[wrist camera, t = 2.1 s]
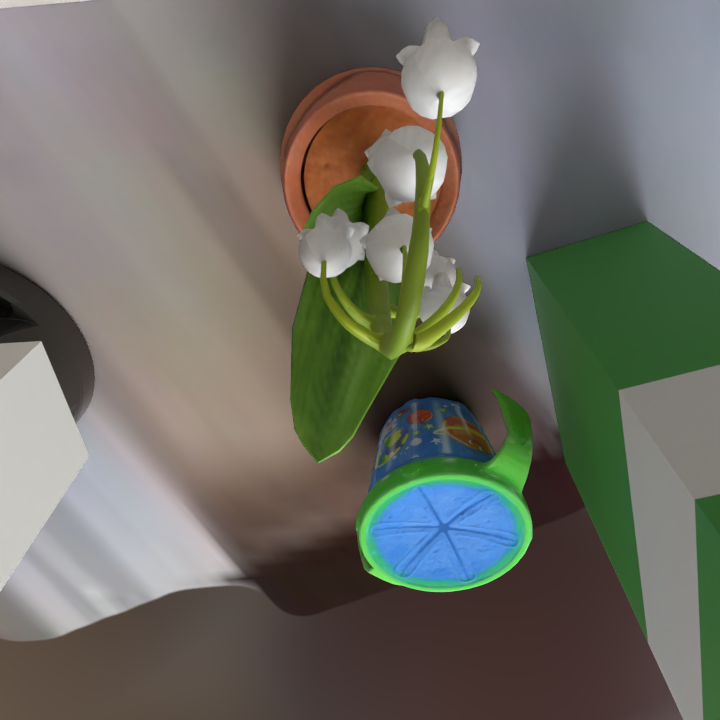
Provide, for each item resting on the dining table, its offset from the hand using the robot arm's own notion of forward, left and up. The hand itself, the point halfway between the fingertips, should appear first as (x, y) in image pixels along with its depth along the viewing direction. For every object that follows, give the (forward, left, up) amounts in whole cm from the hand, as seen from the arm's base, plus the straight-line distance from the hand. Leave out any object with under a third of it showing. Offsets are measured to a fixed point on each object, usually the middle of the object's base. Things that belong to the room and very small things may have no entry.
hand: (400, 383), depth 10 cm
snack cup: (+3, -21, -25) cm, 33 cm away
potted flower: (0, 0, -25) cm, 25 cm away
